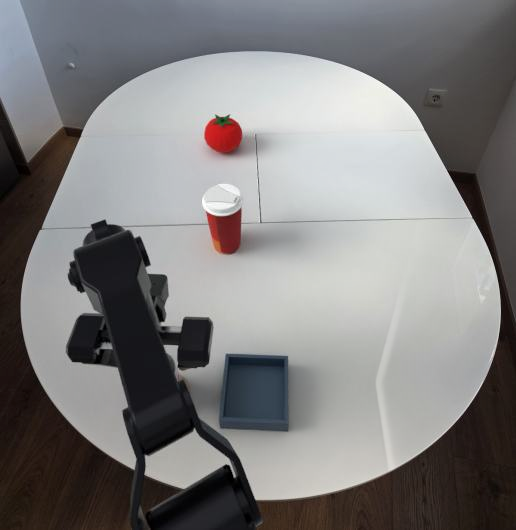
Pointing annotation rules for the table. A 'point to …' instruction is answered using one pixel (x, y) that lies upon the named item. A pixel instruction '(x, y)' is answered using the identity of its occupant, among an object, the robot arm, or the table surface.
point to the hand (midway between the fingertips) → (152, 365)
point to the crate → (254, 393)
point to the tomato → (223, 134)
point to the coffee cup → (224, 216)
